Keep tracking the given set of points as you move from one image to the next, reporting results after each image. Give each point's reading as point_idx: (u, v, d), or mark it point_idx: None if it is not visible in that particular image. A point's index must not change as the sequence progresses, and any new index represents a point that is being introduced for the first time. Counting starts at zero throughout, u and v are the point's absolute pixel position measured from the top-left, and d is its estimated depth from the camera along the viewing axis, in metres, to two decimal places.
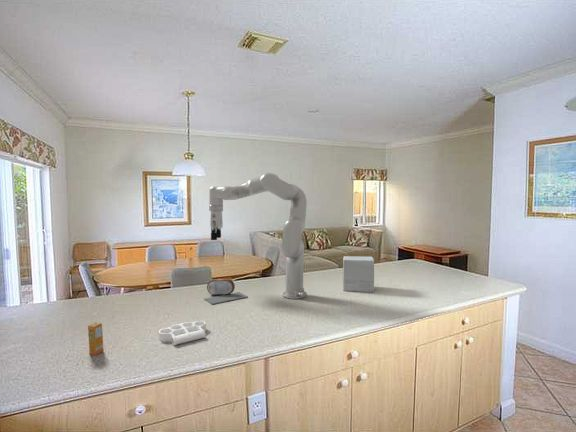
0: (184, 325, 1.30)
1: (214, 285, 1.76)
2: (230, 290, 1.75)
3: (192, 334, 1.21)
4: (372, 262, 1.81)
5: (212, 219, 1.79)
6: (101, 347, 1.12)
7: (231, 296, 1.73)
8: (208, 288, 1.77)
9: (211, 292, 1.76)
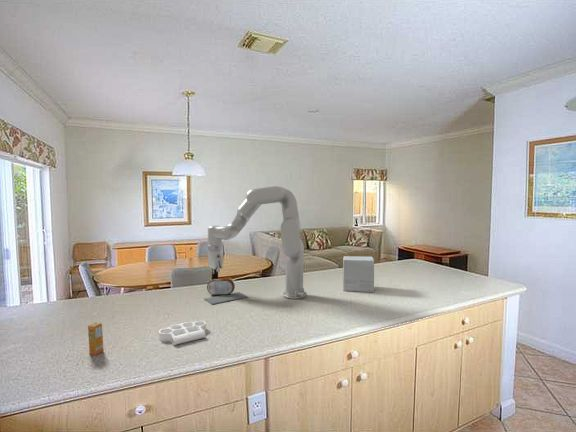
0: (184, 325, 1.30)
1: (214, 285, 1.76)
2: (230, 290, 1.75)
3: (192, 334, 1.21)
4: (372, 262, 1.81)
5: (216, 259, 1.77)
6: (101, 347, 1.12)
7: (231, 296, 1.73)
8: (208, 288, 1.77)
9: (211, 292, 1.76)
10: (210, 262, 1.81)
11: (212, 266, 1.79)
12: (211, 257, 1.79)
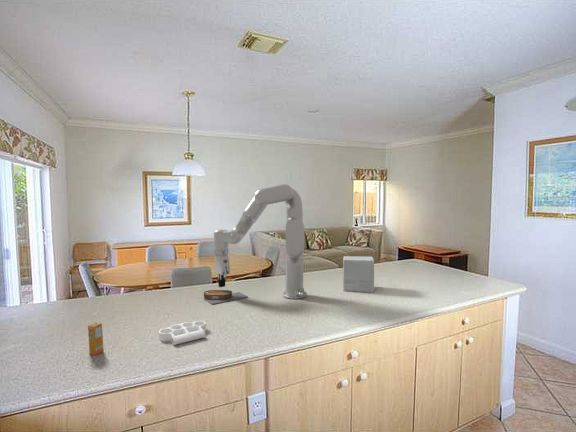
0: (184, 325, 1.30)
1: None
2: None
3: (192, 334, 1.21)
4: (372, 262, 1.81)
5: (223, 265, 1.70)
6: (101, 347, 1.12)
7: None
8: None
9: None
10: (217, 267, 1.74)
11: (219, 272, 1.72)
12: (218, 262, 1.72)
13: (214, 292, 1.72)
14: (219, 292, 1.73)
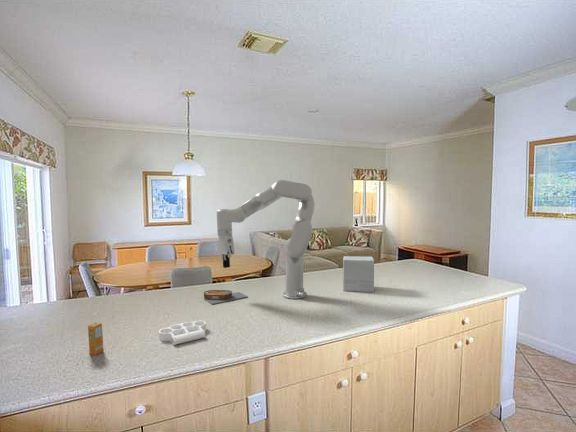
0: (184, 325, 1.30)
1: None
2: None
3: (192, 334, 1.21)
4: (372, 262, 1.81)
5: (228, 244, 1.66)
6: (101, 347, 1.12)
7: None
8: None
9: None
10: (221, 248, 1.70)
11: (223, 252, 1.68)
12: (221, 242, 1.68)
13: (214, 292, 1.72)
14: (219, 292, 1.73)
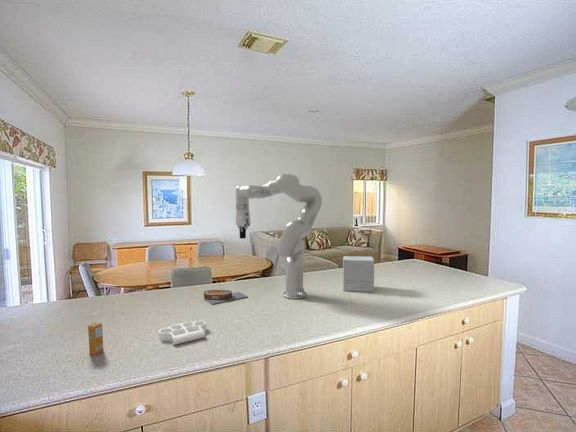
0: (184, 325, 1.30)
1: None
2: None
3: (191, 334, 1.21)
4: (372, 262, 1.81)
5: (245, 217, 1.87)
6: (101, 347, 1.12)
7: None
8: None
9: None
10: (238, 220, 1.91)
11: (240, 224, 1.89)
12: (239, 215, 1.89)
13: (214, 292, 1.72)
14: (219, 292, 1.73)
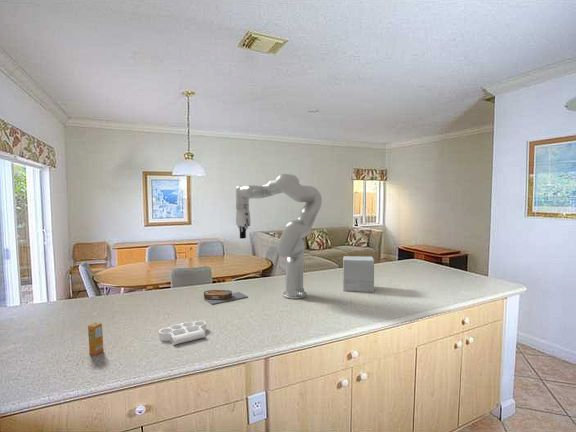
0: (184, 325, 1.30)
1: None
2: None
3: (191, 334, 1.21)
4: (372, 262, 1.81)
5: (245, 217, 1.87)
6: (101, 347, 1.12)
7: None
8: None
9: None
10: (238, 220, 1.91)
11: (240, 224, 1.89)
12: (239, 215, 1.89)
13: (214, 292, 1.72)
14: (219, 292, 1.73)
